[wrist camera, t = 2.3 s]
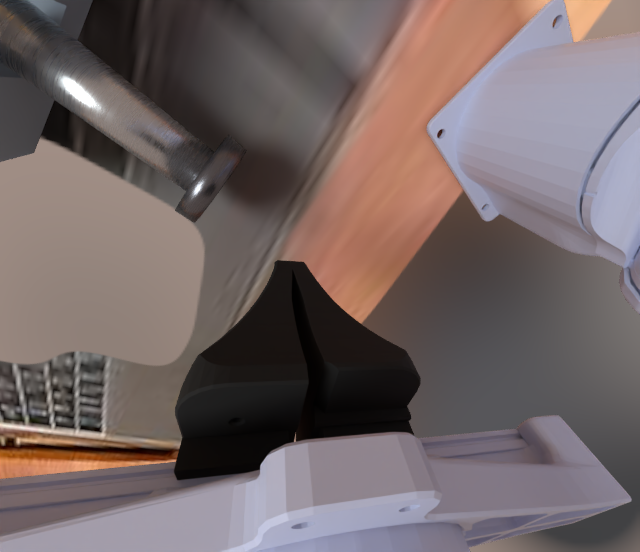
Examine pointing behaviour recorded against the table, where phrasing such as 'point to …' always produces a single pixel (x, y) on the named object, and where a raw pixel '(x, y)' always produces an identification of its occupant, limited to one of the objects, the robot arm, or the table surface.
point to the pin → (112, 105)
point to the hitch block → (32, 87)
